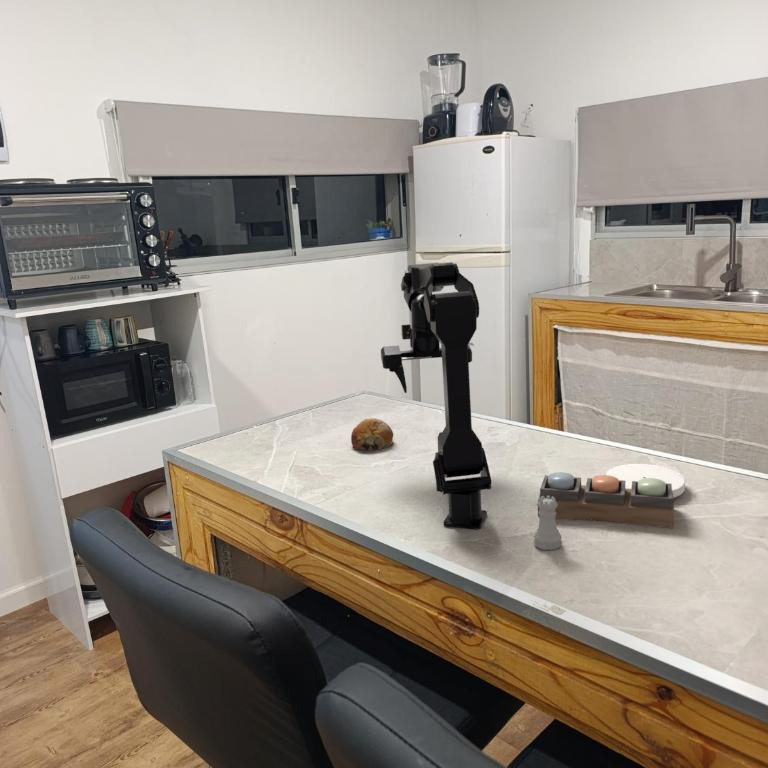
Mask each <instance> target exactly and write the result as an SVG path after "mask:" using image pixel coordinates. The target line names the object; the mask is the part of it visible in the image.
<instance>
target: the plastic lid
mask: <svg viewBox="0 0 768 768" xmlns="http://www.w3.org/2000/svg"><path fill="white" fill-rule="evenodd" d="M604 475H609V476H613V477H616V478H617V479H618V480H622V481H625V488H626V489H632V481H637V482H638V481H639V480H641V479H644V478H655V479H659V480H662V481H664V482H665V483H667V484H672V492H673V499H674V498H677V497H679V496H681V495H682V494H683V493H684V492H685V489H686V478H685V477H684V476H683V475H682V474H681V473H679V472H678V471H677V470H674V469H672V468H669V467H666V466H661V465H656V464H655V465H654V464H650V463H649V464H647V463H629V464H621V465H617V466H614V467H612V468H610V469H607V471H606V472H605V473H604Z"/></svg>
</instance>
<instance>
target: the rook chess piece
mask: <svg viewBox="0 0 768 768" xmlns="http://www.w3.org/2000/svg"><path fill="white" fill-rule="evenodd" d="M538 498H539V497H538ZM536 506H537V508H538V507H539V508H540V511H539V513H538V512H537V515H538V514H539V515H540V516H539V520H538V521H539V522H538V528H537V529H536V532H535V533H534V535H533V538H534V539H533V544H534V545H535V546H536V548H538V549H540V550H542V551H555V550H558V549H559V548H560V547H561V546H562V543H563V541H562V534H561V533H560V532H559V529H558V527H557V521H556V518H555V515H556V514H557V513H556V512H555V509H556V507H557V506H558V504H557V502H556V501H555V498H554V497H551V499H550V496H547V498H545V496H541V498H539V501H538V500H537V503H536Z"/></svg>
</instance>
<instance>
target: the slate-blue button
mask: <svg viewBox="0 0 768 768" xmlns="http://www.w3.org/2000/svg"><path fill="white" fill-rule="evenodd" d="M547 476H548V488H550V489H563V490H573V489H574V475H573V474H571V473H568V472H558V471H557V472H553V473H550V474H548V475H547Z"/></svg>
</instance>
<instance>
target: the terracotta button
mask: <svg viewBox="0 0 768 768" xmlns="http://www.w3.org/2000/svg"><path fill="white" fill-rule="evenodd" d="M592 492H605V493H618V492H619V480H618V479H617V478H616V477H613V476H609V475H605V474H601V475H596V476H594V477H592Z"/></svg>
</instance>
